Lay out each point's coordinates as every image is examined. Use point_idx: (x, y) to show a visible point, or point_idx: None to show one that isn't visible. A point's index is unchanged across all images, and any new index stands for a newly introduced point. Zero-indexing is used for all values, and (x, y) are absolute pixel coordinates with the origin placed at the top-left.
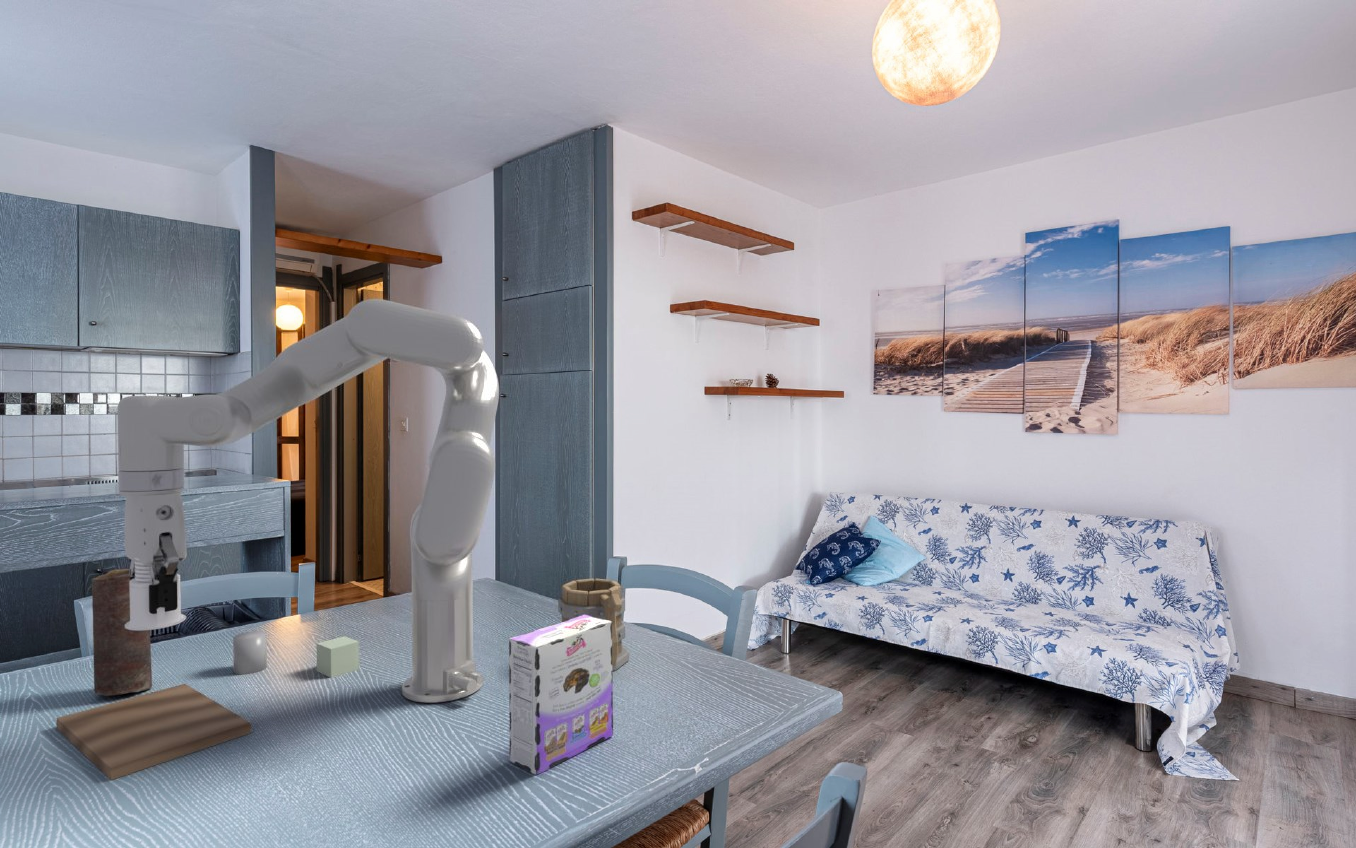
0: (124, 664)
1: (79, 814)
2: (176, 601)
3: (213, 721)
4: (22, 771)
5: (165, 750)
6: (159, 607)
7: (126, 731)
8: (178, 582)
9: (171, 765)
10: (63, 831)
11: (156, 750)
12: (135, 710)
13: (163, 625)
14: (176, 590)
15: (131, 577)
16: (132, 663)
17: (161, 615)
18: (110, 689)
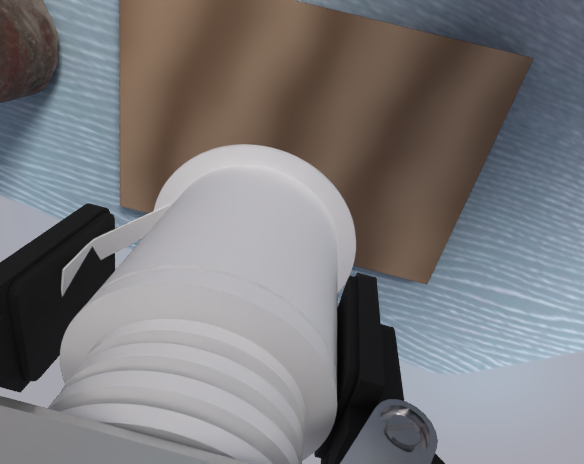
0: (5, 71)
1: (476, 334)
2: (375, 299)
3: (433, 94)
4: None
5: (457, 217)
6: None
7: None
8: (311, 318)
9: (476, 212)
10: (497, 359)
11: (442, 224)
12: (205, 126)
13: (338, 267)
14: (378, 341)
15: (12, 387)
16: (5, 51)
17: None
18: (39, 87)
